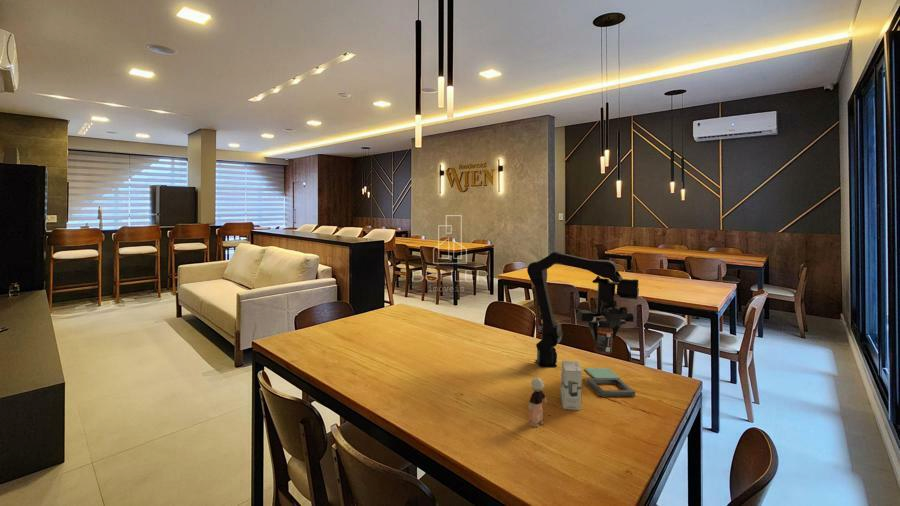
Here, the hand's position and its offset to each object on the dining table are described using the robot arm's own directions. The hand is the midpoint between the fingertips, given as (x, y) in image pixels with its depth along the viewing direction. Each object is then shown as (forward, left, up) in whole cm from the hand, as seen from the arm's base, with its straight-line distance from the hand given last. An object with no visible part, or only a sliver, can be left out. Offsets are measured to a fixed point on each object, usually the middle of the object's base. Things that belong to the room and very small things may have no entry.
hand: (603, 339), depth 146 cm
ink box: (-20, -22, -13) cm, 32 cm away
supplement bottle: (0, 0, -5) cm, 5 cm away
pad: (0, 0, -13) cm, 13 cm away
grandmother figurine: (-34, -34, -13) cm, 50 cm away
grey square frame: (-3, -13, -13) cm, 18 cm away
